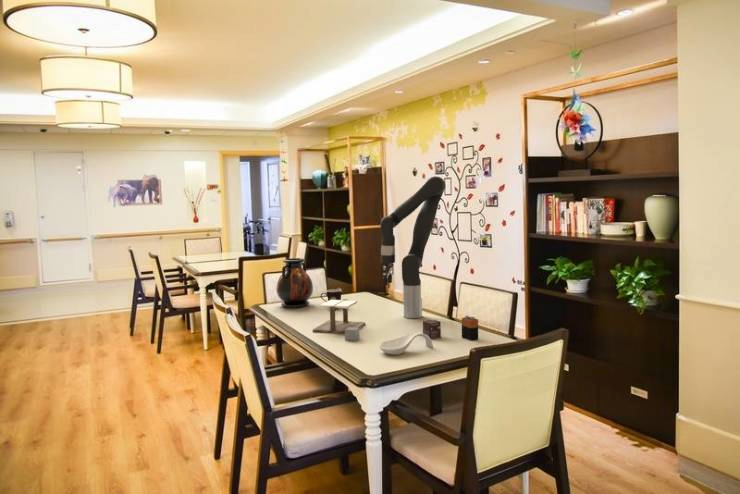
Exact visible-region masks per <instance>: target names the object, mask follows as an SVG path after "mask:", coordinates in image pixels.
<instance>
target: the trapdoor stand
mask: <svg viewBox="0 0 740 494" xmlns="http://www.w3.org/2000/svg"><path fill="white" fill-rule="evenodd" d="M342 300H348V301H349V299H348V298H344V299H342ZM365 325H366V321H350V320H349V308H348V309H346V308H342V320H336V309H335V306H330V308H329V320H326V321H325V322H322V323H321V324H320V325H317V326H316V327H314V328H313V329H312V333H326V334H337V335H341V334H342V335H345V329H347V328H348V327H358V328H359V330H360V329H362V328H363V327H364V326H365Z"/></svg>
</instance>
